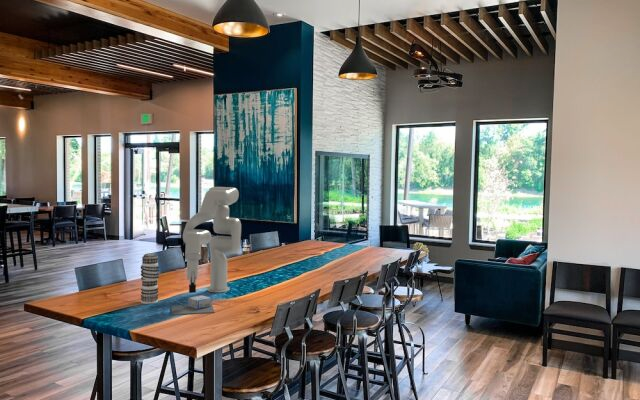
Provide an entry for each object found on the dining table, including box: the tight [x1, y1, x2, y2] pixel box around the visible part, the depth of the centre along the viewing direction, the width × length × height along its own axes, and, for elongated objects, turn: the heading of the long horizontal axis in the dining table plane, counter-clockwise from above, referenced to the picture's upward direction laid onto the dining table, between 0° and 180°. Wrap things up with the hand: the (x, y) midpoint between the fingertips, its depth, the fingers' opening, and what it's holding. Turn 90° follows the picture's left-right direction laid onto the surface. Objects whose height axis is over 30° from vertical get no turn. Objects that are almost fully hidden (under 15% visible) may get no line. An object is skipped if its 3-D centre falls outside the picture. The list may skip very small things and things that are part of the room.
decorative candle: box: [140, 252, 160, 305], centre depth 248 cm, size 9×9×25 cm
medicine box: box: [187, 294, 212, 309], centre depth 241 cm, size 8×4×9 cm
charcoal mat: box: [170, 303, 215, 316], centre depth 236 cm, size 14×20×1 cm
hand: (192, 292), depth 240 cm, fingers closed
